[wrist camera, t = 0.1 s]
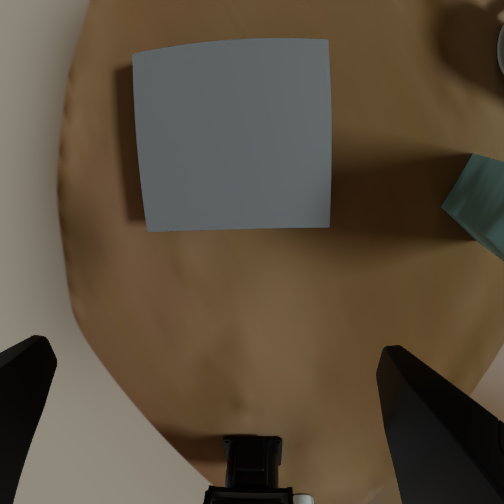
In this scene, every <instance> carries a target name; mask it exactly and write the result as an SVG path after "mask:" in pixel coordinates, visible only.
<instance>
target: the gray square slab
mask: <svg viewBox="0 0 504 504" xmlns="http://www.w3.org/2000/svg"><path fill="white" fill-rule="evenodd" d="M133 91H134V111H135V126H136V139H137V151H138V161H139V171H140V180H141V189H142V197H143V205H144V212H145V219H146V226H147V232H159V231H187V230H220V229H261V228H326V227H330V204H331V158H332V130H331V84H330V62H329V44H328V40H325V39H304V38H256V39H236V40H222V41H211V42H202V43H193V44H186V45H179V46H172V47H166V48H160V49H154V50H149V51H144V52H139V53H134V54H133Z"/></svg>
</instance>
